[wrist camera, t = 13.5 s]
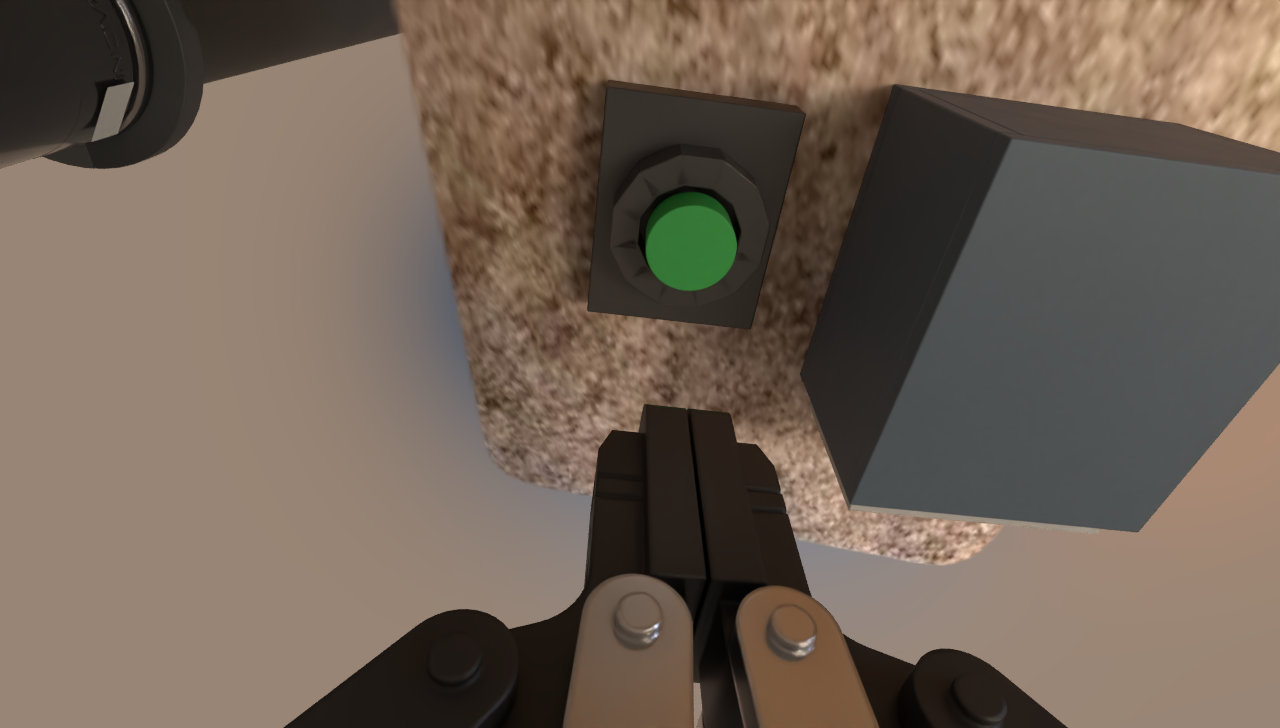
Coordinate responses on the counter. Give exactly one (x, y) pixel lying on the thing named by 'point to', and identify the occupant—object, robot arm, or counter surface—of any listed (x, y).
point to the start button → (690, 241)
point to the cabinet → (1043, 310)
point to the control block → (688, 162)
